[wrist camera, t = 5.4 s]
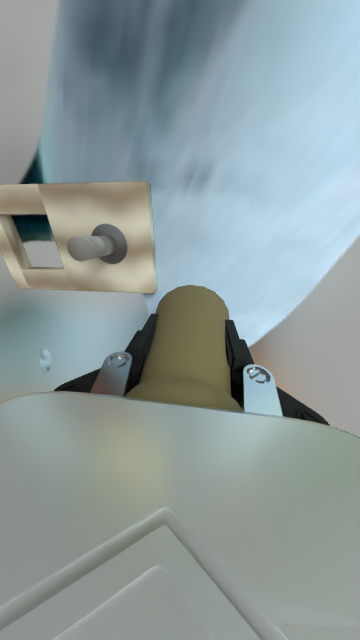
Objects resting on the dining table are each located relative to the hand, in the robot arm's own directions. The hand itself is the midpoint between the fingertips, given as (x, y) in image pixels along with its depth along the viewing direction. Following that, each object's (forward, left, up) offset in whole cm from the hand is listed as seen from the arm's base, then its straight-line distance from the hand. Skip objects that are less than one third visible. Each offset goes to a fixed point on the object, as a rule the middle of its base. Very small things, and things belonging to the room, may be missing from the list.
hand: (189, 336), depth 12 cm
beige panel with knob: (-5, -18, -17) cm, 26 cm away
